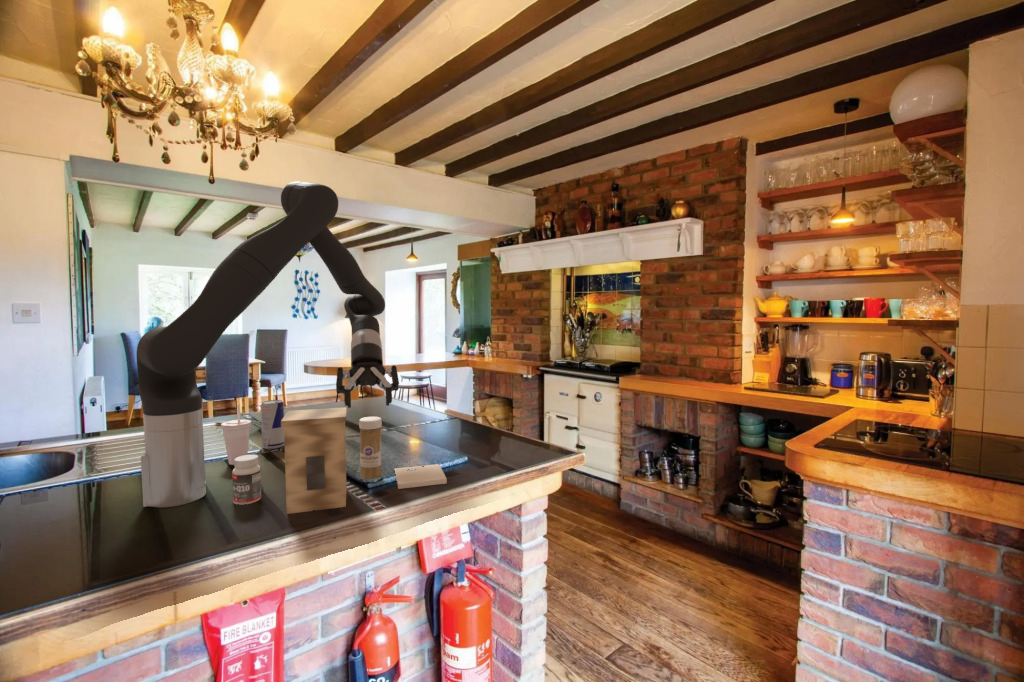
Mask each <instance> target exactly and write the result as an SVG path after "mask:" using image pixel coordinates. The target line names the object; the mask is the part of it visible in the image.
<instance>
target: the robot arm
mask: <svg viewBox="0 0 1024 682" xmlns="http://www.w3.org/2000/svg"><path fill="white" fill-rule="evenodd" d="M280 204H281V208H282V210H283V212H284V213H285V214H286V216H285V217H283V219H281V220H280V221H279V222H278V223H275V225H272V226H271V227H269V228H267V229H265V230H263V231H261V232H259V233H257V234H255V235H253V236H251V237H249V238H248V239H246V240H244V241H242V242H241V243H240V244H239V245H237V246H236V247H235V248H234V249H233V250H232V251H231V252H230V253H229V254H228V255H227V256H226V257H225V258H224V259H223V260H222V261H221V262H220V263H219V264H218V266H217V267H216V268H215V270H214V271H213V272H212V274H211V275H210V277H209V279H208V280H207V282H206V283H205V286H204V287H203V289H202V291H201V292H200V294H199V295H198V296H197V298H196V300H194V302H193V303H192V304H191V305H190V306H189V307H188V308H186V310H185V311H183V312H182V313H181V314H180V315H179V316H178V317H177V318H175V320H173V321H172V322H171V323H170V324H168V325H167V326H159V327H154V328H152V329H150V330H149V331H147V332H145V334H143V335H142V336H141V337H140V339H139V341H138V342H137V343H138V344H137V347H136V367H137V380H138V391H139V394H138V395H139V397H140V401H141V404H142V416H143V434H144V435H143V436H144V437H143V438H144V453H143V454H142V455H141V457H140V471H141V473H140V474H141V488H142V490H141V491H142V506H143V507H144V508H146V507H152V508H170V507H171V508H172V507H178V506H182V505H187V504H190V503H193V502H196V501H199V500H200V499H201V498H203V497H205V495H206V494H207V491H206V490H207V489H206V485H207V483H206V466H205V462H206V461H205V444H204V443H205V442H204V441H205V440H204V422H203V420H204V419H203V401H202V394H201V392H200V390H199V387H198V384H197V380H196V379H197V378H196V369H197V368H199V366H200V365H201V364H202V363H203V361H204V360H205V358H206V357H207V356H208V354H209V353H210V352H211V350H212V348H214V345H216V343H217V341H218V340H219V339H220V338H221V336H222V335H223V333H224V332H225V331H226V330H227V328H229V326H230V325H231V324H232V323H233V322H234V321H235V320H236V319H237V318H238V317H239V316H240V315H241V314H242V313H244V311H246V309H247V308H248V307H250V305H251V304H252V303H253V302H254V301H255V300H256V299H257V298H258V297H259V296H260V295H261V294H262V293H263V292H265V291H264V290H266V288H267V287H269V285H271V284H272V282H273V281H274V280H275V278H277V276H278V275H279V273H280V272H281V271H282V270H283V269H284V268H285V267H286V266H287V265H288V264H289V263H290V262H291V261H292V260H293V259H294V257H296V255H297V254H298V253H299V252H300V251H301V250H302V249H303V248H304V247H305V245H307V244H308V243H309V244H310V245H311V247H312V248H313V249H314V250H315V252H316V253H317V254H318V256H319V257H320V258H321V261H323V263H324V264H325V266H326V268H327V269H328V271H329V272H330V274H331V276H332V277H333V280H334V281H335V283H336V285H337V286H338V288H339V290H340V291H341V293H343V294H345V295H349V296H347V298H345V301H344V302H343V303H344V304H343V305H344V306H343V307H344V311H345V314H346V315H347V317H348V319H349V320H348V321H349V322H350V326H351V341H350V367H349V369H344V368H343V367H341V366H340V367H338V368H337V373H336V382H335V388H336V389H335V390H336V391H335V392H336V393H337V394H339V395H340V394H343V397H344V398H343V399H344V400H343V401H344V407H345V406H346V407H347V408H348V409H350V408H352V392H353V391H355V390H356V389H357V388H359V386H361V387H366V386H367V387H368V386H369V387H374V386H375V385H377V386H378V387H379V388H380V389H382V390H383V391H384V394H385V406H388V407H389V406H390V404H392V402H393V395H392V394H393V393H392V392H394V391H395V392H396V391H399V386H400V379H399V375H398V374H399V373H398V369H397V366H396V365H394V364H393V365H392V366H391V367H386V368H385V367H384V361H383V360H384V359H383V345H382V344H383V343H382V338H381V331H380V330H381V329H380V328H381V327H380V322H379V320H378V319H377V318H376V316H378V315H381V314H383V313H384V311H385V308H386V302H385V301H386V300H385V299H384V296H383V295H382V294H381V292H380V291H379V289H377V288H376V287H375V286H374V285H373V284H372V283H371V282H370V281H369V280H368V279H367V278H366V277H365V275H364V273H363V271H362V269H361V267H360V266H359V264H358V261H357V260H356V258H355V256H354V255H353V254H352V253H351V252H350V251H349V250H348V249H347V247H346V246H345V245H344V244H343V243H342V242H341V241H340V240H339V239H338V238H337V237H336V236H335V235H334V234H333V232H332V231H331V230H330V229H329V227H328V225H330V223H332V222H333V220H334V218H335V217H336V215H337V213H338V209H339V198H338V195H337V193H336V192H335V190H333V189H332V188H331V187H329V186H327V185H325V184H321V183H316V182H307V181H292V182H289V183H288V184H286V185H285V186H284V188H283V189H282V191H281V194H280ZM385 375H388V377H389V378H391V382H392V383H391V382H390V381H389V380H387V378H386V377H385ZM348 376H349V377H350V379H349V380H348V382H347V383H346V384H345V385H343V380H345V379H346V378H347V377H348Z"/></svg>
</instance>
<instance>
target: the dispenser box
mask: <svg viewBox="0 0 1024 682" xmlns="http://www.w3.org/2000/svg"><path fill="white" fill-rule="evenodd" d="M347 408H348V406H346V407H345V406H344V407H331V408H328V407H326V408H313V409H311V408H310V409H298V410H297V409H296V410H295V409H293V410H287V411H286V413H284V417H283V419H282V420H281V427H284V466H285V467H284V468H285V469H284V470H285V472H284V473H285V474H284V475H285V499H286V515H289V514H296V513H305V512H312V511H313V510H315V511H321V510H329V509H337V508H346V507H347V506H346V505H347V464H346V463H347V459H346V457H347V455H346V454H347V453H346V452H347V451H346V422H347V417H348V416H347V415H348V412H347V411H348V409H347Z"/></svg>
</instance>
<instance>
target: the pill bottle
mask: <svg viewBox="0 0 1024 682" xmlns="http://www.w3.org/2000/svg"><path fill="white" fill-rule="evenodd" d="M233 466H234V468H233V470H232V473H231V475H232V476H231V477H232V478H231V479H232V502H233V504H235V505H238V504H239V506H240V505H241V506H244V505H245V504H246V505H251V504H253V503H256V502H258V501H260V500H261V498H262V478H261V475H262V473H261V471H262V470H261V466H260V464H259V455H257V454H247V455H243V456H239V457H237V458H235V459H234V465H233ZM246 505H245V506H246Z"/></svg>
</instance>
